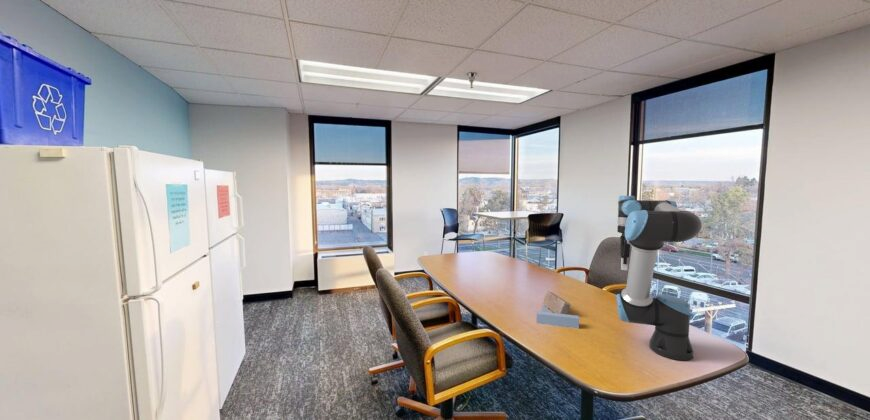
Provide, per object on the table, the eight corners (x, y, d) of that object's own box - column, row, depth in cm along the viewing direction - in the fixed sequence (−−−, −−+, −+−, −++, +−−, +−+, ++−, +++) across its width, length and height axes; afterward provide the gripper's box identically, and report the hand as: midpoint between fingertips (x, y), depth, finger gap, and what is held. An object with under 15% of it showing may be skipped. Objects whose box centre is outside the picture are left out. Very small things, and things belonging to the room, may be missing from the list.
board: (578, 328, 160) (579, 318, 160) (536, 323, 167) (536, 313, 166) (576, 319, 172) (577, 310, 171) (537, 314, 178) (537, 305, 178)
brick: (571, 304, 174) (564, 302, 172) (566, 318, 174) (559, 316, 173) (552, 292, 189) (546, 290, 188) (548, 305, 190) (541, 303, 189)
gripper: (637, 226, 162) (635, 273, 163) (631, 224, 174) (629, 267, 176) (620, 226, 164) (618, 272, 166) (615, 223, 177) (613, 266, 178)
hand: (624, 269), depth 171 cm, fingers closed
